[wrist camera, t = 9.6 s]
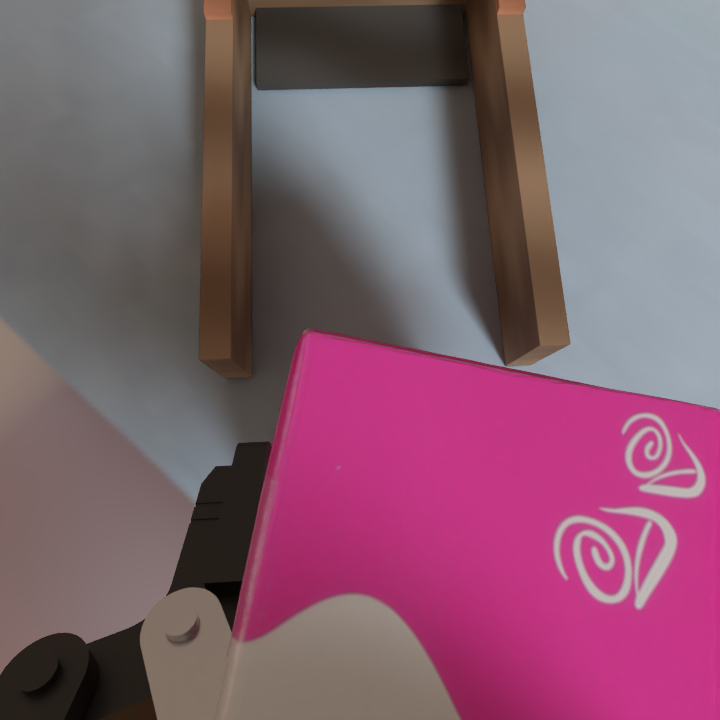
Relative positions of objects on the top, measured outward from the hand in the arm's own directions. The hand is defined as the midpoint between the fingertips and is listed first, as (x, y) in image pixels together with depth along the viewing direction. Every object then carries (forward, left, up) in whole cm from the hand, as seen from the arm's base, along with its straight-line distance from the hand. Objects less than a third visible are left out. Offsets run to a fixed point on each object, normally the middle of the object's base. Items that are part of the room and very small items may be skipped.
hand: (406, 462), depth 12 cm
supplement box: (+2, 0, -5) cm, 6 cm away
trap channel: (-12, 0, -6) cm, 14 cm away
